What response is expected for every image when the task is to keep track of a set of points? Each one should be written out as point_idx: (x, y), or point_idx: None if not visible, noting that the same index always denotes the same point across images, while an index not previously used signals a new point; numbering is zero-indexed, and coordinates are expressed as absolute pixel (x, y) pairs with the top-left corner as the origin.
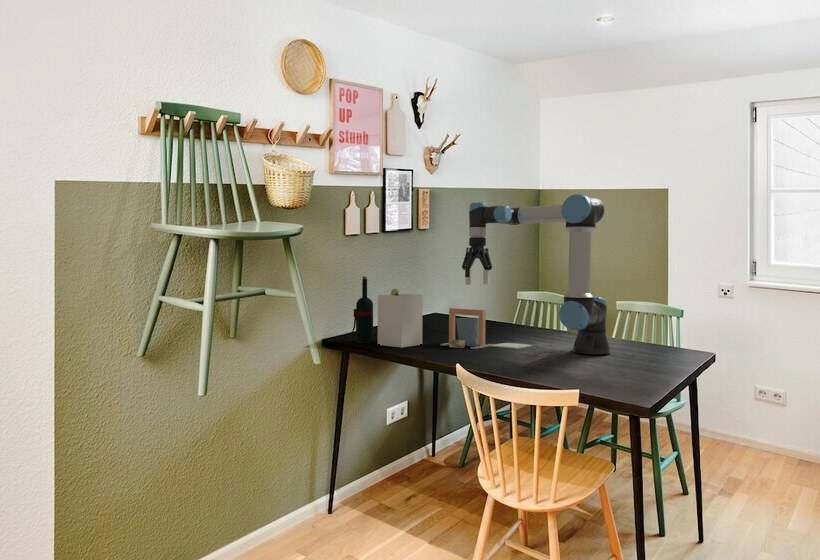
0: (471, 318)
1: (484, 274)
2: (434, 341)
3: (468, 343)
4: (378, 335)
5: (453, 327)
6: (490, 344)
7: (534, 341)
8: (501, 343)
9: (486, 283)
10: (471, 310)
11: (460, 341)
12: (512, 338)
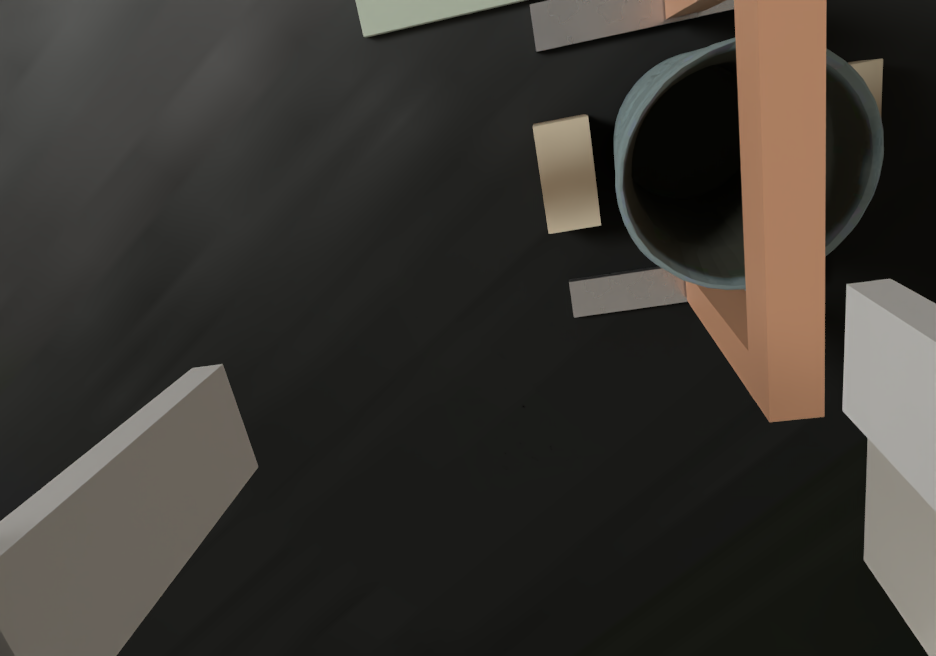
0: (826, 49)
1: (129, 579)
2: (660, 455)
3: None
4: None
5: (740, 301)
6: (559, 20)
7: (76, 25)
8: (438, 17)
9: (226, 402)
10: (821, 87)
11: (880, 60)
12: (108, 262)
